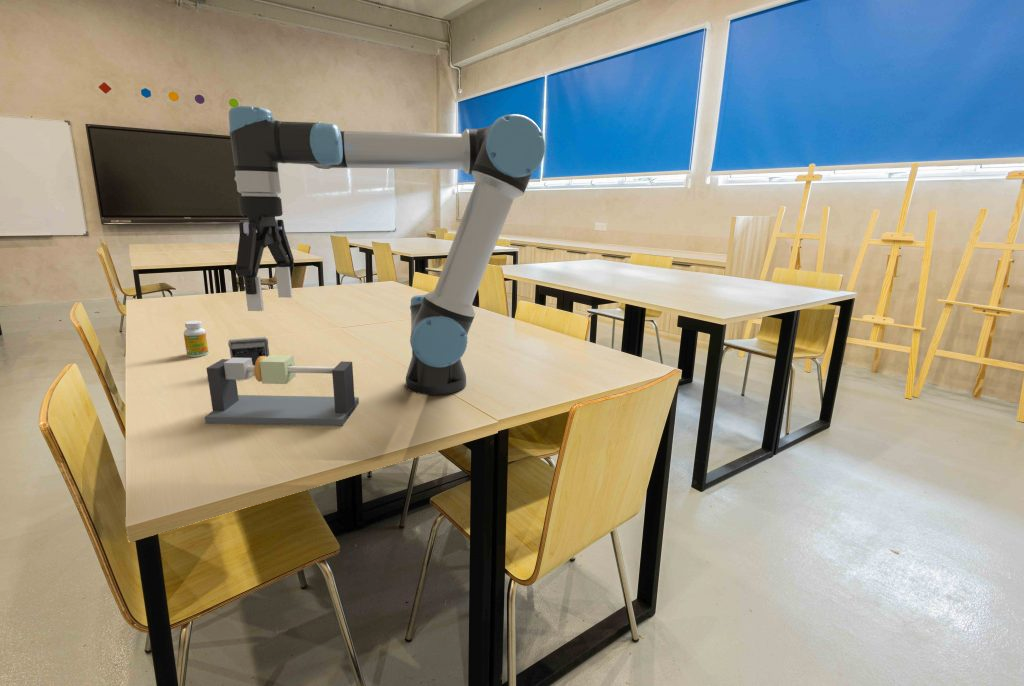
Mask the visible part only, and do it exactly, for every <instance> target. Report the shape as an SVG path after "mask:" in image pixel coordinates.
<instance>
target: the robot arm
mask: <svg viewBox="0 0 1024 686" xmlns="http://www.w3.org/2000/svg"><path fill="white" fill-rule="evenodd" d="M228 121H229V122H228V124H229V131H228V132H229V133H228V135H229V137H230V144H231V151H232V157H233V165H234V174H235V176H234V177H233V178H234V181H235V182H236V191H237V192H238V193H239V194H241V196H238V198H237V201H238V202H237V203H238V208H239V210H238V211H239V214H240V215H241V216H242V217H247V218H248V221H247V222H246V221H245V222H244V221H243V222H241V221H240V222H239V223H238V224H239V225H238V229H239V239H238V247H237V255H236V264H235V274H236V276H237V277H238V278H243V281H244V282H243V283H244V289H245V290H244V291H245V298H246V299H245V300H246V306H247V311H248V312H263V311H265V309H264V308H265V307H264V299H263V291H262V283H261V281H262V280H261V276H258V272H259V269H260V265H261V261H262V257H263V253H264V249H265V248H268V250H269V252H270V253H271V256H272V257H273V259H274V262H275V263H276V266H275V269H274V270H275V276H276V277H275V278H276V287H277V295H278V298H285V299H286V298H287V299H288V298H293V289H292V288H293V287H292V278H291V267H294V266H295V262H294V259H295V258H294V256H293V252H292V249H291V246H290V242H289V240H288V237H287V233H286V230H285V224H284V220H283V219H276V217H277V218H278V217H282V216H283V215H284V214H283V212H284V211H283V204H282V203H283V202H282V198H281V197H280V196H279V194H281V192H282V191H281V182H280V173H279V164H293V165H294V164H295V165H310V166H313V167H315V168H318V169H324V170H329V169H405V170H406V169H408V170H409V169H412V170H413V169H414V170H416V169H418V170H462V171H463V172H464V173H465V174H466V175H472V177H473V181H474V185H473V189H472V191H471V194H470V197H469V199H468V200H467V201H468V202H467V205H466V206H465V210H464V213H463V214H462V218H461V219H460V222H459V225H458V227H457V231H456V233H455V236H454V238H453V241H452V243H451V246H450V249H449V250H448V251H449V252H448V254H447V257H446V259H445V262H444V265H443V267H442V270H441V273H440V275H439V278H438V280H437V283H436V286H435V288H434V290H432V291H430V292H428V293H425V294H420V295H419V294H418V295H414V296H412V297H411V299H410V306H409V309H410V327H411V329H410V337H409V339H410V340H409V342H410V348H411V359H410V362H409V365H408V368H407V372H406V374H405V375H406V376H405V386H406V389H407V390H409V391H410V392H413V393H416V394H420V395H427V396H429V395H430V396H437V395H438V396H439V395H450V394H453V393H457V392H459V391H461V390H463V389H464V388H465V387H466V385H467V375H466V371H465V368H464V365H463V362H462V359H461V358H462V357H463V356H464V354H465V353H466V351H467V350H466V349H467V347H468V345H467V344H468V334H469V332H470V329H471V327H472V324H473V321H474V319H475V316H476V312H475V310H474V307H473V303H474V300H475V297H476V295H477V292H478V290H479V287H480V284H481V282H482V280H483V277H484V274H485V273H486V269H487V267H488V265H489V262H490V259H491V258H492V255H493V253H494V250H495V247H496V245H497V242H498V239H499V237H500V236H501V235H500V234H501V232H502V229H503V227H504V225H505V223H506V219H507V218H508V214H509V212H510V211H511V210H510V209H511V207H512V205H513V202H514V200H515V199H518V198H520V197H522V196H524V195H525V191H526V189H527V188H528V184H529V182H530V179H531V177H532V175H533V173H534V172H536V171H537V169H538V168H539V166H540V165H541V163H542V161H543V159H544V156H545V151H546V143H545V138H544V135H543V132H542V130H541V129H540V127H539V126H538V124H537V123H536V122H535V121H534V120H533V119H531V118H529V117H528V116H526V115H523V114H519V113H518V114H516V113H514V114H513V113H512V114H504V115H503V116H502V115H501V116H500V117H498V118H497V119H495V120H494V121H493V122H492V124H491V125H490V126H489V125H488V126H486V127H481V128H480V127H479V128H465V130H464V131H462V132H461V133H446V132H407V131H406V132H405V131H404V132H403V131H402V132H400V131H399V132H397V131H395V132H394V131H362V130H361V131H353V130H341V129H340V127H339V126H338V124H335V123H328V122H327V123H325V122H322V121H317V122H313V121H312V122H310V121H309V122H308V121H307V122H306V121H305V122H304V121H282V120H275V118H274V116H273V112H272V111H271V110H270V109H267V108H265V107H258V106H250V105H238V106H233V107H231V108H230V109H229V111H228Z"/></svg>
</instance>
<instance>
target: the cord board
mask: <svg viewBox="0 0 1024 686" xmlns="http://www.w3.org/2000/svg"><path fill="white" fill-rule="evenodd" d="M266 357H267V356H259V357H258V358H257V360H256V362H255V365H252V358H231V357H230V359H228V358H226V359H225V358H222V359H220V360H218V361H217V362H215V363H213V364H212V365H209V366H208V367H206V374H207V380H208V388H209V394H210V401H211V407H212V408H211V409H212V410H211V411H210V412H209V413H208V414H207V415H205V416H204V421H205V422H204V423H205V424H208V425H265V426H267V425H271V426H273V425H275V426H277V425H278V426H326V427H327V426H329V427H330V426H331V427H332V426H333V427H336V426H337V427H343V426H345V424H346V422H347V420H348V419H349V418H350V417H351V415H352V414H353V412H354V411H355V410H356V408H357V407H358V406H359V404H360V398H359V396H355V384H354V383H355V382H354V370H353V368H354V367H353V361H340V362H339V363H338V364H337V365H336V366H309V365H308V366H307V365H306V366H301V365H300V366H299V365H295V366H287V367H288V373H295V374H330V375H332V387H333V388H332V389H333V396H317V395H316V396H311V395H310V396H309V395H307V396H306V395H256V394H254V395H253V394H249V395H248V394H239V392H238V387H237V386H238V383H237V380H247V379H249V377H251V376H253V375H254V377H255V379H256V381H258V382H259V383H260V382H261V383H262V377H261V368H260V361H262V360H263V359H265V358H266Z"/></svg>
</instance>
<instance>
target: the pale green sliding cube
mask: <svg viewBox="0 0 1024 686" xmlns="http://www.w3.org/2000/svg"><path fill="white" fill-rule="evenodd" d="M294 356H295V355H293V354H270V355H269V356H268V357H266V358H265V359H263V360H262V361H260V368H261V377H262V382H261V384H262V385H263V384H265V385H272V384H273V385H274V384H275V385H287V384H288V383H290V382H291V381H292V380H293V379H294V378H296V373H288V367H287V366H296V365H295V357H294Z"/></svg>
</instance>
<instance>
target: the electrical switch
mask: <svg viewBox="0 0 1024 686" xmlns="http://www.w3.org/2000/svg"><path fill="white" fill-rule="evenodd" d="M227 344H228V348H229V354H230V359H231V358H252V365H255V362H256V360H257V358H258V357H259V356H267V357H268V356H269V355H271V354H270V347H269V339H268V337H267V336H259V337H245V338H232V339H229V340H228V341H227Z"/></svg>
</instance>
